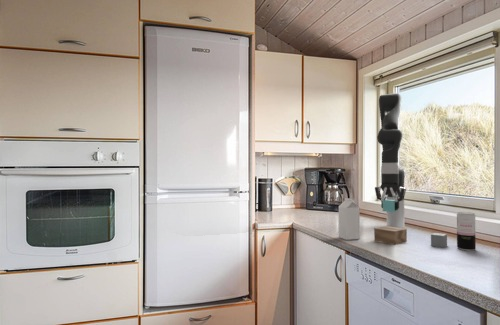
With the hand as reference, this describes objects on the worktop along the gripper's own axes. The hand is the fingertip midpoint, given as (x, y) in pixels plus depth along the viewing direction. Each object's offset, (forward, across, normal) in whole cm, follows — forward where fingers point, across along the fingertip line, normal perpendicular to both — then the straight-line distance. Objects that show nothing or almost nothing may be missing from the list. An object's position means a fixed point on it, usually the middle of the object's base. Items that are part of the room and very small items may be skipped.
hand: (390, 209), depth 161 cm
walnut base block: (+15, 0, 0) cm, 15 cm away
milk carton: (+15, +17, +7) cm, 24 cm away
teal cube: (+1, 0, 0) cm, 1 cm away
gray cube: (+15, -19, -5) cm, 24 cm away
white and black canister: (+15, -29, -6) cm, 33 cm away
